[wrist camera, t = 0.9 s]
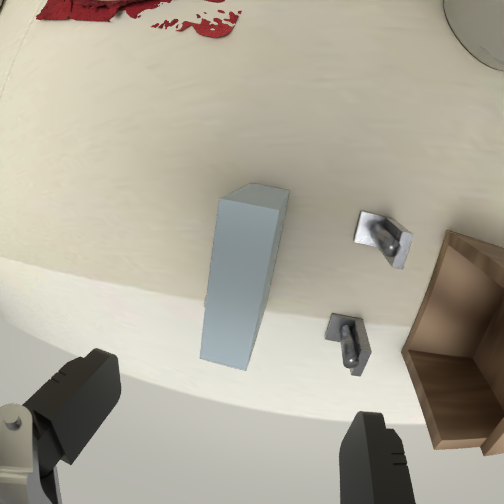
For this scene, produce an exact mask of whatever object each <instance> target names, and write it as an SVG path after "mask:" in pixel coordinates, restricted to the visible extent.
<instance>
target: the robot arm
mask: <svg viewBox="0 0 504 504" xmlns="http://www.w3.org/2000/svg"><path fill="white" fill-rule="evenodd" d="M444 9H445V13H446V17H447V19H448V22H449V24H450V26H451V28H452V30H453V31H454V33H455V35H456V36H457V38H458V39H459V40H460V42H461V43H462V44H463V45H464V46H465V47H466V48H467V50H468V51H469V52H470V53H471V54H473V55H474V56H475V57H476V58H477V59H478V60H480V61H481V62H483V63H485V64H486V65H488V66H490V67H492V68H495V69H498V70H503V71H504V0H444ZM120 395H121V383H120V374H119V365H118V358H117V356H116V355H114V354H111V353H109V352H106V351H103V350H101V349H98V348H95V349H93V350H92V351H91V352H90V353H89V354H88V355H87V356H86V357H85V358H83V357H78V358H76V359H74V360H72V361H69V362H67V363H66V364H65V365H64V366H63V367H62V368H61V369H60V370H59V372H58V373H56V374H55V375H54V376H52V378H51V380H50V379H49V380H48V381H47V382H46V383H45V384H44V385H43V386H42V387H41V388H40V389H39V390H38V391H37V392H36V393H35V394H33V396H32V397H30V398H29V399H28V401H26V402H25V403H24V404H23V405H20V404H6V405H3V406H1V407H0V504H62V499H61V493H60V487H59V481H58V472H57V467H56V464H57V463H58V461H59V460H60V459H61V460H63V461H65V462H66V463H68V464H70V465H72V463H73V462H74V461H75V459H76V458H77V457H78V455H79V454H80V452H81V451H82V450H83V448H84V447H85V446H86V444H87V443H88V442H89V440H90V439H91V438H92V436H93V435H94V433H95V432H96V431H97V429H98V428H99V427H100V425H101V424H102V422H103V421H104V420H105V419H106V417H107V416H108V414H109V413H110V412H111V410H112V409H113V408H114V407H115V405H116V404H117V402H118V400H119V398H120ZM404 453H405V452H404V448H403V444H402V440H401V439H400V437H399V436H398V435H397V433H396V432H395V430H394V429H386V427H385V421H384V417H383V415H382V413H376V412H363V411H359V412H358V413H357V414H356V416H355V418H354V420H353V422H352V424H351V426H350V427H349V429H348V431H347V433H346V435H345V437H344V439H343V441H342V443H341V447H340V453H339V466H340V499H341V500H340V504H416V503H415V499H414V494H413V488H412V483H411V479H410V474H409V469H408V466H407V460H406V456H405V455H404Z"/></svg>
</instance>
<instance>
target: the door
mask: <svg viewBox="0 0 504 504" xmlns="http://www.w3.org/2000/svg"><path fill="white" fill-rule="evenodd" d="M289 191H290V190H285V189H280V188H275V187H270V186H265V185H260V184H254V183H250V184H248V185H246V186H244V187H242V188H240V189H238V190H236V191H234V192H232V193H230V194H228V195H226V196H224V197H222V198H220V200H219V207H218V214H217V221H216V228H215V235H214V242H213V249H212V257H211V265H210V272H209V280H208V288H207V295H206V298H205V302H204V307H205V314H204V323H203V332H202V341H201V350H200V359H203V360H206V361H210V362H214V363H217V364H221V365H225V366H229V367H233V368H236V369H240V370H245V371H246V370H247V367H248V364H249V360H250V357H251V354H252V351H253V347H254V344H255V341H256V338H257V334H258V331H259V328H260V324H261V321H262V318H263V314H264V311H265V308H266V303H267V299H268V294H269V290H270V285H271V280H272V275H273V271H274V266H275V261H276V256H277V251H278V247H279V242H280V237H281V232H282V227H283V222H284V217H285V212H286V207H287V202H288V197H289Z"/></svg>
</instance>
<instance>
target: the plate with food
mask: <svg viewBox="0 0 504 504" xmlns="http://www.w3.org/2000/svg"><path fill="white" fill-rule="evenodd" d="M206 1H210V2H216V3H219V2H224V1H225V0H206ZM160 2H168V3H170V2H171V0H66V1H65V0H48V1H47V3H46V5H45V7H44V8H43V9H42V10H41V13H40V14H38V15H37V16H36V17H37V18H36V19H38V20H42V19H46V20H50V19H56V20H61V19H62V20H64V19H66V18H67V17H70V19H74V20H86V21H108V22H110V21H109V19H111V18H112V17H113V16H114V15H115V14H116V13H117V12H118V10H119V11H120V10H126V13H127V14H128V15H129V16H130V17H131V18H134V19H136V18H137V15H138V14H139V13H140V12H142V11H144V10H146V9H154V8H157V7H158V4H160ZM162 4H163V3H162ZM159 6H160V5H159ZM218 12H220V13H225V12H224V11H222V10H218ZM241 12H242V11H238V13H239V14H241ZM204 13H205V14H206V12H204ZM196 15H197V18H200V15H198V14H196ZM229 15H230V19H224V21H229V22H231V23H232V24H234V23H235V24H236V20H237V17H238V15H235V14H234V13H233V12H230V13H229ZM140 16H141V15H140ZM140 16H138V18H139V17H140ZM213 20H214V21H215V22H217V23H218V25H214V24H211V25H209V23H211V22H210V21H207V20H206V19H203V18H202V22H201V24H196V23H191V22H188V21H184V22H183V23H182V24H183V26H182V28H181V29H180V30H176V31H182V30H184V29H185V28H187V27H189V26H190V25H193V27H194V29H195V30H196V32H197V33H199V34H200V35H205V36H209V37H218V36H223V35H225V34H228V33H229V32H230V31H231V30H232V28H233V27H234V26H235V25H234V26H233V27H231V26H229V25H228V24H223V23H222V20H220V19H219V18H214V19H213ZM177 22H178V19H174V20H173V21H171V23H169V21H167V20H165V21H164V23H163V24H161V25H160V26H159V28H163V25H164V24H165V27H166V28H165V29H167V27H168V26H170V27H171V26H173V25H174V24H175V23H177ZM158 25H159V23H157V24H155V25H152V26H151V27H155V28H156V27H157V26H158ZM178 25H179V24H178ZM178 25H177V26H176V29H177V28H178ZM211 28H214V29H215V30H210V29H211Z"/></svg>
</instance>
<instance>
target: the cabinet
mask: <svg viewBox="0 0 504 504" xmlns="http://www.w3.org/2000/svg"><path fill="white" fill-rule="evenodd" d="M401 353H402V356H403V358H404V361H405V364H406V366H407V369H408V372H409V374H410V377H411V380H412V383H413V386H414V388H415V391H416V394H417V397H418V400H419V403H420V406H421V409H422V412H423V415H424V418H425V421H426V425H427V428H428V431H429V434H430V437H431V441H432V445H433V448H434V450H439V449H458V448H471V447H480V448H481V450H482V453H483V455H484V456H488V455H495V454H501V453H504V248H501V247H498V246H495V245H492V244H489V243H486V242H483V241H480V240H477V239H474V238H471V237H468V236H464V235H461V234H458V233H455V232H451V231H448V230H447V232H446V235H445V238H444V242H443V245H442V248H441V252H440V255H439V258H438V261H437V264H436V267H435V270H434V273H433V276H432V279H431V281H430V284H429V287H428V290H427V292H426V295H425V298H424V300H423V303H422V305H421V308H420V310H419V313H418V315H417V318H416V320H415V322H414V325H413V327H412V329H411V332H410V334H409V336H408V339H407V341H406V343H405V345H404V347H403V349H402V352H401Z"/></svg>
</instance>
